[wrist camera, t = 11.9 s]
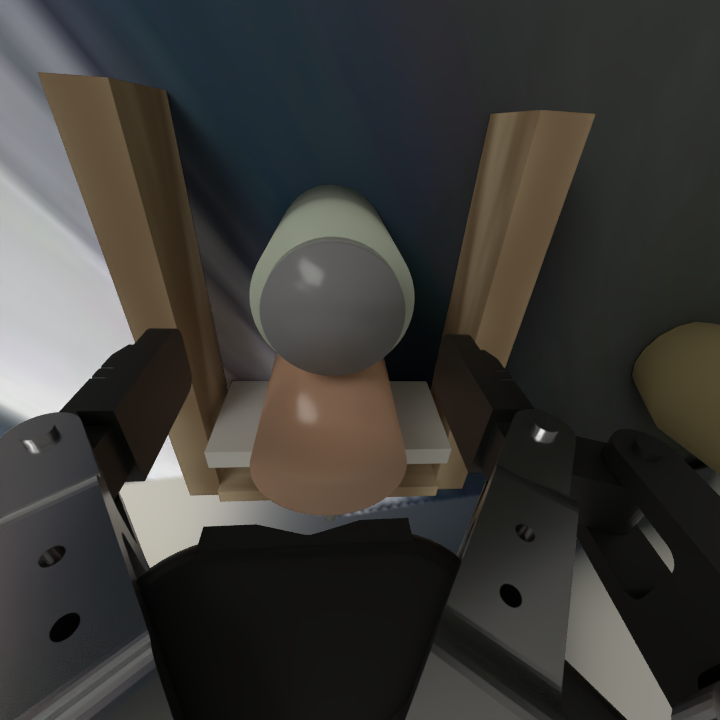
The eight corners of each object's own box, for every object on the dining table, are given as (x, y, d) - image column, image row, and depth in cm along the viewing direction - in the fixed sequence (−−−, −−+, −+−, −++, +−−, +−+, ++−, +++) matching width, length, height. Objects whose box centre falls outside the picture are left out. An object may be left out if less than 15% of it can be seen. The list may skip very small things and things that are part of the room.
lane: (210, 442, 26) (187, 502, 22) (115, 86, 14) (25, 69, 10) (444, 439, 27) (464, 494, 23) (533, 117, 16) (605, 113, 12)
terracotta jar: (286, 378, 23) (261, 519, 15) (276, 294, 20) (236, 415, 11) (375, 376, 23) (400, 511, 15) (380, 293, 20) (414, 409, 12)
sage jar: (282, 289, 19) (253, 385, 12) (276, 180, 16) (232, 221, 9) (378, 292, 20) (406, 387, 13) (389, 188, 17) (434, 232, 10)
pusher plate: (255, 501, 30) (240, 575, 25) (232, 380, 23) (204, 452, 18) (402, 497, 31) (416, 567, 26) (426, 381, 24) (451, 448, 19)
